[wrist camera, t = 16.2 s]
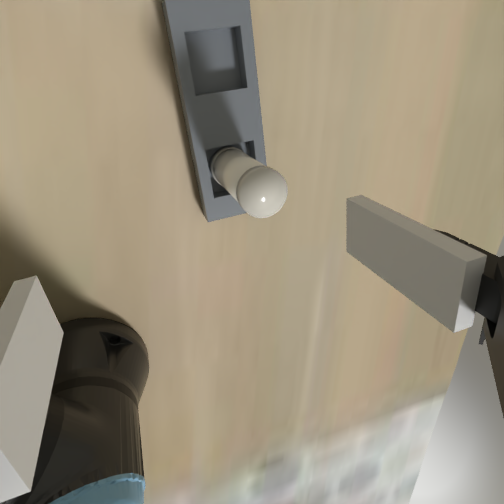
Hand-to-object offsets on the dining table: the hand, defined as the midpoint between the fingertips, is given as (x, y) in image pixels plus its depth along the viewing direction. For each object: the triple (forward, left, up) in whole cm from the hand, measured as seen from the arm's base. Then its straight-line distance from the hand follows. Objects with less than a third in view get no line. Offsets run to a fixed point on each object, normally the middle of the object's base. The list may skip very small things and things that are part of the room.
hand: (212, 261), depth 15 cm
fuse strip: (+8, +2, -29) cm, 30 cm away
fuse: (+8, -3, -28) cm, 30 cm away
